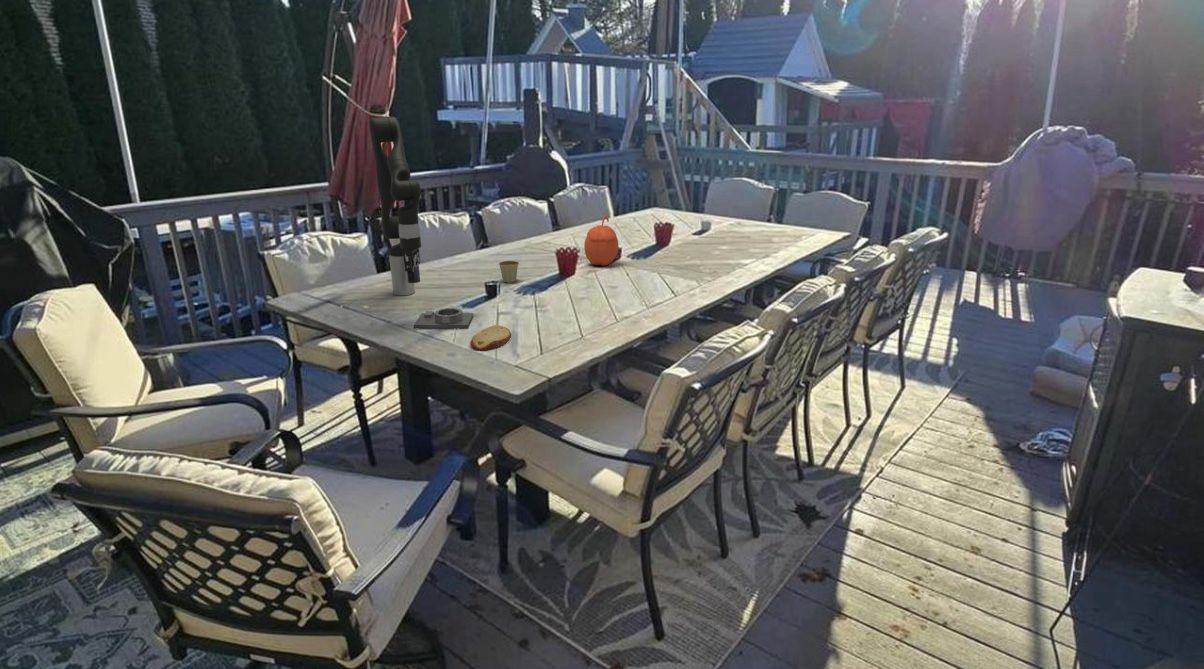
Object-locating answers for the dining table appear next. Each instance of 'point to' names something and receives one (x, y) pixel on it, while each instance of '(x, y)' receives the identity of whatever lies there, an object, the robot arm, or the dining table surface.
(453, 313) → the grey thick ring
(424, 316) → the camera plate
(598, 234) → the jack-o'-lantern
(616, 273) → the dining table surface
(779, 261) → the dining table surface
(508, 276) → the flower pot
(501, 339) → the slice of bread
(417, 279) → the domed grey cylinder
